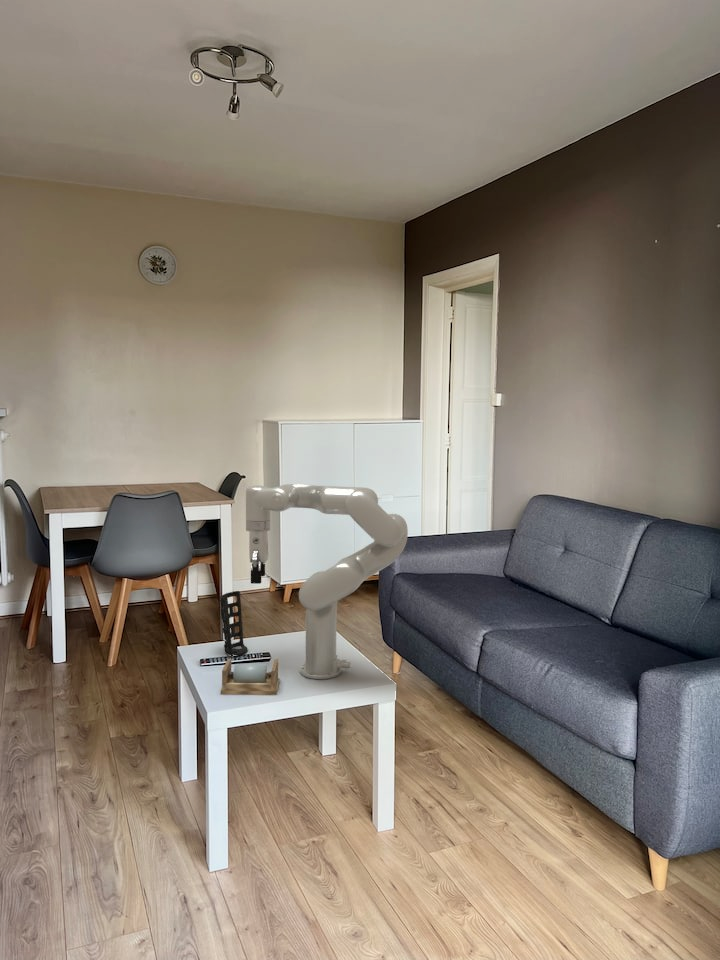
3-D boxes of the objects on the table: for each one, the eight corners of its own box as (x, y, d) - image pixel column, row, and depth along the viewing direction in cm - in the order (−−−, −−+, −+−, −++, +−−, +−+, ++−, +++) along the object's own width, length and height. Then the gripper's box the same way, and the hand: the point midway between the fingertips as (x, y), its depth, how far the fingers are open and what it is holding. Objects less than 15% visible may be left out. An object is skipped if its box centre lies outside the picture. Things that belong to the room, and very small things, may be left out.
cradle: (279, 681, 217) (279, 659, 217) (276, 694, 207) (276, 671, 207) (226, 681, 217) (226, 658, 216) (220, 694, 207) (220, 670, 206)
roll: (268, 680, 215) (267, 660, 214) (265, 688, 209) (265, 669, 208) (236, 679, 215) (235, 660, 214) (232, 688, 209) (232, 668, 208)
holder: (243, 657, 237) (237, 597, 235) (220, 658, 238) (214, 599, 236) (250, 647, 248) (244, 589, 246) (228, 648, 248) (223, 591, 247)
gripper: (266, 530, 216) (266, 586, 218) (273, 521, 233) (272, 573, 235) (241, 530, 216) (241, 586, 218) (249, 521, 233) (249, 573, 235)
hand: (258, 579), depth 226 cm, fingers open, 9 cm apart
